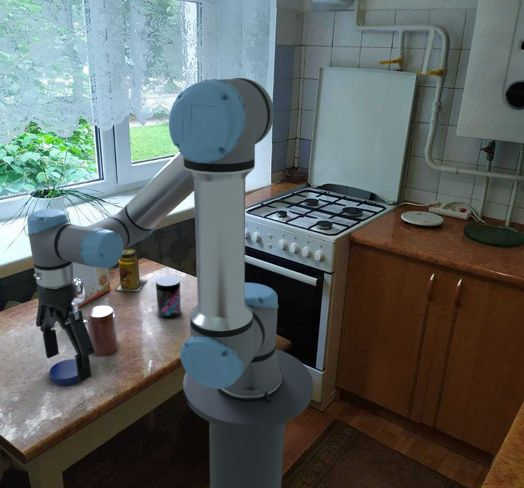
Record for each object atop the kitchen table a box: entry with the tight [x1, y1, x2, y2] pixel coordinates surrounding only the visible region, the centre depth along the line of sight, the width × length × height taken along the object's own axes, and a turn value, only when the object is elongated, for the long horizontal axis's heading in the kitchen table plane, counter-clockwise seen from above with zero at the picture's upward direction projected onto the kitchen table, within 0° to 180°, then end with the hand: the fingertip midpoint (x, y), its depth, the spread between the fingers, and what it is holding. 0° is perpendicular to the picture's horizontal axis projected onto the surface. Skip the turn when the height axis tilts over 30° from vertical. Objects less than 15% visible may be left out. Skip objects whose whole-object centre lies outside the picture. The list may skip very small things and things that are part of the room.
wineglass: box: [68, 278, 87, 323], centre depth 135 cm, size 6×6×12 cm
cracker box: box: [72, 224, 111, 308], centre depth 147 cm, size 14×6×21 cm, turn 154°
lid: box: [49, 358, 80, 387], centre depth 113 cm, size 8×8×2 cm
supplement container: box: [155, 275, 182, 319], centre depth 141 cm, size 7×7×10 cm
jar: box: [86, 305, 119, 357], centre depth 123 cm, size 7×7×11 cm
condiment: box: [115, 248, 147, 292], centre depth 157 cm, size 7×8×12 cm
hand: (68, 366), depth 113 cm, fingers open, 13 cm apart
